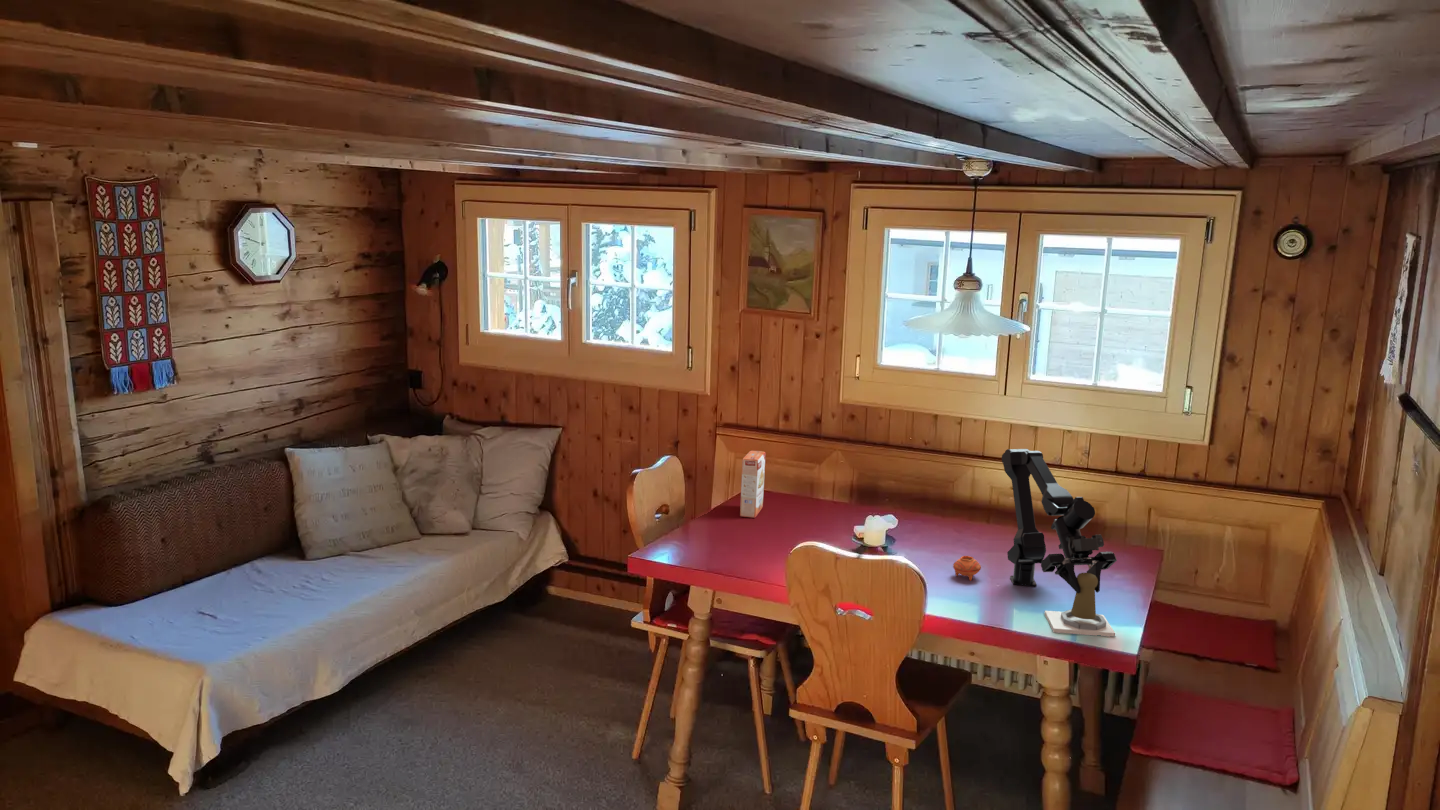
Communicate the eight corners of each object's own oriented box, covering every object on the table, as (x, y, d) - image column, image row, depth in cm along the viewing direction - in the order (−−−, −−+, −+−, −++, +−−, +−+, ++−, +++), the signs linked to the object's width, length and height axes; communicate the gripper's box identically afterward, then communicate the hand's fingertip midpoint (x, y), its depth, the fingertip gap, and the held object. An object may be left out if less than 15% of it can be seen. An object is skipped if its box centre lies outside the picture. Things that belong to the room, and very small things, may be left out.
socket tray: (1044, 614, 263) (1045, 606, 262) (1103, 618, 261) (1103, 610, 261) (1053, 632, 251) (1054, 624, 251) (1114, 636, 249) (1115, 628, 249)
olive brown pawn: (1100, 616, 255) (1105, 576, 253) (1085, 621, 252) (1089, 580, 249) (1081, 608, 260) (1085, 568, 258) (1065, 612, 257) (1070, 572, 254)
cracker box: (756, 518, 341) (758, 459, 337) (739, 517, 342) (741, 458, 338) (764, 507, 354) (766, 450, 350) (747, 506, 356) (749, 449, 352)
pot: (987, 580, 286) (984, 559, 285) (962, 587, 285) (959, 566, 283) (974, 569, 294) (971, 549, 292) (950, 576, 293) (947, 556, 291)
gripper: (1050, 524, 253) (1069, 581, 245) (1116, 522, 257) (1137, 577, 248) (1032, 543, 262) (1050, 598, 254) (1096, 541, 266) (1116, 595, 257)
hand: (1088, 592), depth 253 cm, fingers closed on olive brown pawn, 5 cm apart
